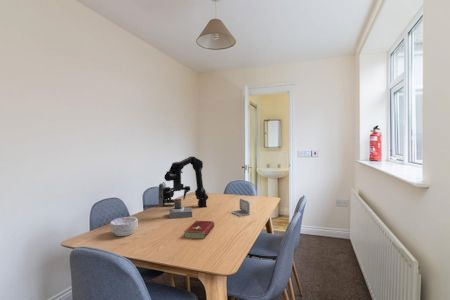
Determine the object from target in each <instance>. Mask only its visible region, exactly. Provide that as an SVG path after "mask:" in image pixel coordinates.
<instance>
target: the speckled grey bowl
mask: <svg viewBox="0 0 450 300" xmlns="http://www.w3.org/2000/svg"><path fill="white" fill-rule="evenodd" d="M138 225H139V220H138V218H137V217H135V216H122V217H118V218H114V219H113V220H111V221H110V222H109V227H110V228H109V229H110V232H111V233H113V234H114V235H115V236H118V237H126V236H129V235H132V234H133V233H134V232H135V230H136V229H138V228H139V227H138Z"/></svg>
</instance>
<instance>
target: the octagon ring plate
mask: <svg viewBox="0 0 450 300" xmlns="http://www.w3.org/2000/svg"><path fill="white" fill-rule="evenodd" d="M192 217H193V210H192V207H183V206H181V209H174V207H171V208H169V220H170V219H180V218H181V219H183V218H192Z"/></svg>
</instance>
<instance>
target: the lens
mask: <svg viewBox="0 0 450 300" xmlns="http://www.w3.org/2000/svg"><path fill="white" fill-rule="evenodd" d="M173 200H174V203H173V204H174V206H173V208H174V209H181V207H182V199H181V198H175V199H173Z"/></svg>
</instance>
